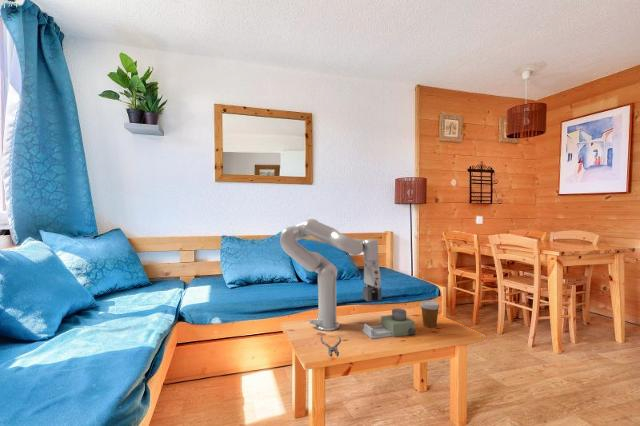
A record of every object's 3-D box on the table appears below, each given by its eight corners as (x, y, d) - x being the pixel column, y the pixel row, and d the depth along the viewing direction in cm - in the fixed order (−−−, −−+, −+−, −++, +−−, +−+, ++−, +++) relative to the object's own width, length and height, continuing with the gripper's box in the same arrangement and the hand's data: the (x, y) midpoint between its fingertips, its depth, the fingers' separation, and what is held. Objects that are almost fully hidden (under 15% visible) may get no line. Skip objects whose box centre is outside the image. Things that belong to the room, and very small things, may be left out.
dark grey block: (367, 301, 150) (367, 289, 150) (363, 298, 155) (362, 287, 155) (381, 299, 153) (381, 287, 153) (376, 296, 157) (376, 285, 157)
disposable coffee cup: (442, 329, 153) (442, 305, 153) (423, 329, 153) (423, 305, 153) (435, 322, 162) (435, 300, 162) (417, 322, 162) (417, 300, 162)
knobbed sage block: (373, 340, 139) (373, 319, 139) (360, 329, 153) (360, 309, 153) (416, 334, 146) (416, 314, 146) (400, 324, 159) (400, 305, 159)
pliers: (338, 334, 145) (352, 353, 126) (338, 336, 145) (352, 355, 126) (318, 336, 143) (330, 355, 124) (318, 338, 143) (330, 357, 124)
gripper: (386, 265, 147) (387, 302, 147) (369, 260, 163) (370, 293, 163) (373, 266, 144) (374, 303, 144) (357, 261, 160) (358, 295, 160)
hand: (372, 298), depth 154 cm, fingers closed on dark grey block, 5 cm apart
